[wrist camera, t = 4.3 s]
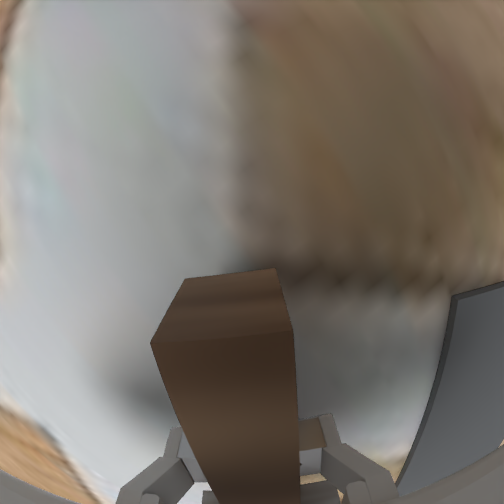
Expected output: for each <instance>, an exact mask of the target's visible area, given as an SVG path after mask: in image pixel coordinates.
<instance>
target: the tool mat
mask: <svg viewBox="0 0 504 504" xmlns="http://www.w3.org/2000/svg"><path fill="white" fill-rule="evenodd" d="M503 439H504V282H501V283H497V284H494V285H490V286H487V287H483V288H480V289H476V290H473V291H469V292H465V293H462V294H458V295H454V296H452V300H451V307H450V313H449V319H448V325H447V330H446V335H445V340H444V345H443V350H442V354H441V358H440V362H439V366H438V370H437V374H436V378H435V381H434V385H433V388H432V392H431V395H430V398H429V402H428V405H427V408H426V411H425V414H424V417H423V419H422V422H421V425H420V428H419V430H418V433H417V436H416V438H415V441H414V443H413V446H412V448H411V450H410V453H409V455H408V457H407V460H406V462H405V464H404V466H403V469H402V471H401V473H400V475H399V477H398V479H397V481H396V483H395V486H396V488H397V491H398V493H399V496H403V495H406V494H408V493H411V492H414V491H416V490H418V489H421V488H423V487H426V486H428V485H430V484H433V483H435V482H437V481H439V480H441V479H443V478H445V477H448V476H450V475H452V474H454V473H456V472H458V471H459V470H461V469H463V468H465V467H467V466H469V465H471V464H472V463H474V462H476V461H478V460H479V459H481V458H483V457H484V456H486V455H488V454H489V453H491V452H492V451H494V450H496V449H497V448H498V447H499V446H500V444H501V442H502V441H503Z"/></svg>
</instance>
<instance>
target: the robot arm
mask: <svg viewBox="0 0 504 504" xmlns="http://www.w3.org/2000/svg"><path fill="white" fill-rule="evenodd" d="M298 427H299V455H300V476H303V475H310V474H317V473H321V475H322V476H324V477H325V478H326V479H327V480H328V481H329V482H330V483H331V484H332V485H334V486H335V487H336V488H337V489H338V490H339V491H340V492H342V493H343V494H344V496H343V500H342V503H341V504H504V444H503V445H502V446H500V447H499V448H497V449H496V450H494V451H492V452H491V453H489V454H488V455H486V456H484V457H483V458H481V459H479V460H478V461H476V462H474V463H472V464H471V465H469V466H467V467H465V468H463V469H461V470H459V471H458V472H456V473H454V474H452V475H450V476H448V477H445V478H443V479H441V480H439V481H437V482H435V483H433V484H430V485H428V486H426V487H423V488H421V489H418V490H416V491H414V492H411V493H408V494H406V495H403V496H399V493H398V491H397V488H396V486H395V483H394V481H393V478H392V476H391V473H390V471H388V470H387V469H385V468H383V467H382V466H380V465H378V464H377V463H375V462H374V461H372V460H370V459H369V458H367V457H366V456H364V455H362V454H361V453H359V452H358V451H356V450H355V449H353V448H352V447H350V446H349V445H347V444H346V443H345V444H341V440H340V437H339V434H338V431H337V428H336V425H335V422H334V419H333V416H332V414H331V413H330V414H325V415H320V416H314V417H308V418H302V419H298ZM194 482H207V480H206V478H205V476H204V474H203V472H202V470H201V468H200V466H199V464H198V462H197V460H196V458H195V456H194V454H193V451H192V449H191V447H190V445H189V443H188V441H187V438H186V436H185V434H184V432H183V429H182V427H172V428H171V429H170V433H169V436H168V440H167V444H166V448H165V452H164V455H163V457H159V458H158V459H157V460H156V461H154V462H153V463H152V464H151V465H150V466H148V467H147V468H146V469H145V470H143V471H142V472H141V473H140V474H138V475H137V476H136V477H135V478H133V479H132V480H131V481H129V482H128V483H127V484H126V485H124V486H123V487H122V488H121V489H120V492H119V495H118V498H117V501H116V504H177V503H178V501H179V500H180V499H181V498H182V497H183V496H184V495H185V494H186V492H187V491H188V490H189V489H190V488H191V487H192V485H193V484H194ZM0 504H81V503H77V502H74V501H71V500H69V499H66V498H63V497H60V496H58V495H55V494H52V493H50V492H47V491H45V490H42V489H40V488H38V487H35V486H33V485H31V484H29V483H27V482H25V481H22V480H20V479H18V478H16V477H14V476H12V475H10V474H8V473H7V472H5V471H3V470H1V469H0Z"/></svg>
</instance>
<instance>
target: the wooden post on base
mask: <svg viewBox="0 0 504 504" xmlns="http://www.w3.org/2000/svg"><path fill="white" fill-rule="evenodd" d="M150 344H151V348H152V351H153V354H154V357H155V360H156V362H157V365H158V368H159V371H160V374H161V377H162V379H163V382H164V385H165V387H166V390H167V393H168V395H169V398H170V400H171V403H172V405H173V408H174V410H175V413H176V415H177V418H178V420H179V422H180V425H181V427H182V429H183V432H184V434H185V436H186V438H187V441H188V443H189V445H190V447H191V449H192V451H193V454H194V456H195V458H196V460H197V462H198V464H199V466H200V468H201V470H202V472H203V474H204V476H205V478H206V480H207V482H208V484H209V485H210V487H211V489H212V491H203V497H202V504H341V503H340V499H339V495H338V491H337V488H336V487H335V486H334V485H332V484H331V483H330V482H329V481H328V480H325V481H320V482H314V483H308V484H302V485H300V455H299V427H298V405H297V386H296V368H295V353H294V338H293V329H292V325H291V321H290V318H289V314H288V311H287V307H286V303H285V300H284V296H283V293H282V289H281V286H280V282H279V279H278V275H277V272H276V268H271V269H263V270H255V271H247V272H239V273H230V274H222V275H213V276H205V277H196V278H187V279H185V280H184V281H183V283H182V285H181V287H180V289H179V290H178V292H177V294H176V296H175V298H174V299H173V301H172V303H171V305H170V307H169V308H168V310H167V312H166V314H165V316H164V318H163V320H162V321H161V323H160V325H159V327H158V329H157V331H156V333H155V335H154V336H153V338H152V340H151V342H150Z"/></svg>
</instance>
